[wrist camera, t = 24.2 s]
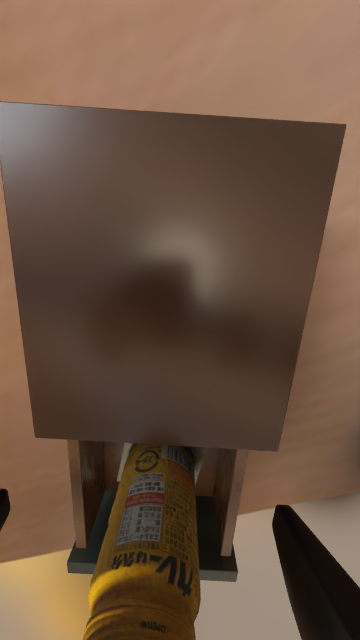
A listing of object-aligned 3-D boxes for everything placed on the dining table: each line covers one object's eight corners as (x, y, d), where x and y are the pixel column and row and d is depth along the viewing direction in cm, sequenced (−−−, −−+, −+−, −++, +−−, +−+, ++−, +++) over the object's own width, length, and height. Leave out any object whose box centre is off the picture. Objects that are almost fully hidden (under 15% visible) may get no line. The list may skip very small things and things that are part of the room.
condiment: (117, 479, 21) (39, 741, 10) (133, 403, 19) (57, 624, 8) (191, 493, 22) (202, 763, 10) (215, 421, 19) (264, 657, 8)
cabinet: (244, 384, 21) (278, 452, 13) (87, 375, 21) (34, 438, 13) (274, 184, 17) (347, 123, 9) (76, 171, 16) (-9, 99, 9)
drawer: (218, 539, 25) (229, 620, 19) (96, 532, 25) (71, 612, 19) (242, 371, 19) (267, 415, 14) (88, 361, 19) (50, 403, 14)
